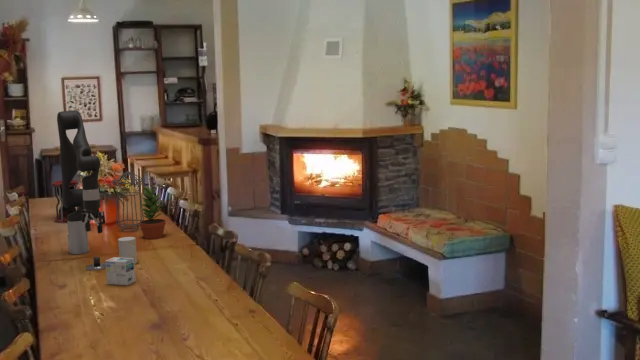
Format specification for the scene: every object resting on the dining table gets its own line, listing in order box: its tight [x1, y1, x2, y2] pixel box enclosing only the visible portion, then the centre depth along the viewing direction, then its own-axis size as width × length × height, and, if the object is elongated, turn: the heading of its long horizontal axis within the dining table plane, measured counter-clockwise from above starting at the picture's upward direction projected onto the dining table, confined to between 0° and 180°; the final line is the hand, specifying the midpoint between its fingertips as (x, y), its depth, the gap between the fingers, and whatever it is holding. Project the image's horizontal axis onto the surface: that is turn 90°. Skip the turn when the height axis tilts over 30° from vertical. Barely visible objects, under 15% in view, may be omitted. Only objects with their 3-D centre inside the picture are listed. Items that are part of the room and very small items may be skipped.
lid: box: [85, 256, 106, 272], centre depth 339 cm, size 10×10×5 cm
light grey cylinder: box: [117, 236, 138, 265], centre depth 345 cm, size 8×8×12 cm
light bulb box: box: [104, 256, 137, 286], centre depth 312 cm, size 11×7×11 cm, turn 71°
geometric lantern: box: [111, 171, 146, 233], centre depth 418 cm, size 16×16×35 cm
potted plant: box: [138, 186, 167, 240], centre depth 398 cm, size 15×15×30 cm
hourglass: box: [51, 179, 79, 224], centre depth 454 cm, size 16×16×25 cm
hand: (94, 232), depth 337 cm, fingers open, 8 cm apart
